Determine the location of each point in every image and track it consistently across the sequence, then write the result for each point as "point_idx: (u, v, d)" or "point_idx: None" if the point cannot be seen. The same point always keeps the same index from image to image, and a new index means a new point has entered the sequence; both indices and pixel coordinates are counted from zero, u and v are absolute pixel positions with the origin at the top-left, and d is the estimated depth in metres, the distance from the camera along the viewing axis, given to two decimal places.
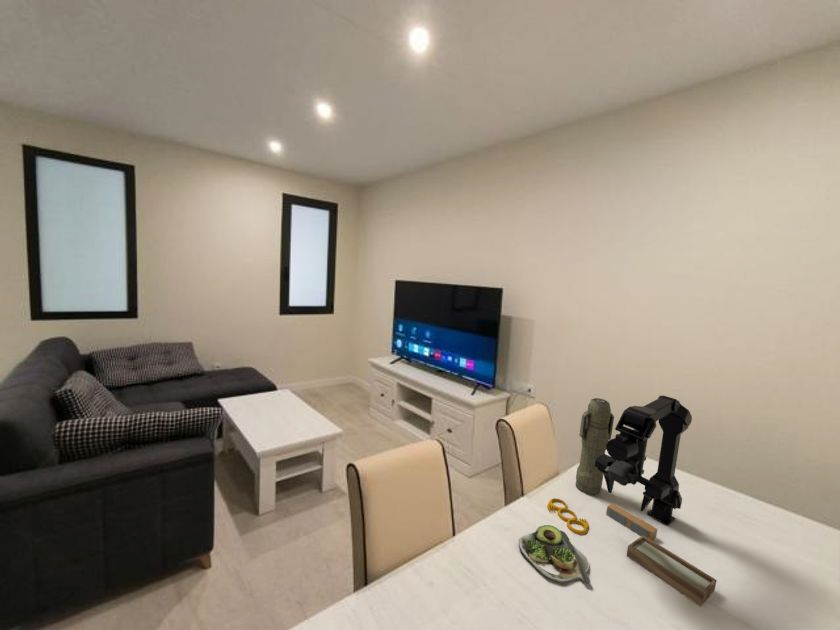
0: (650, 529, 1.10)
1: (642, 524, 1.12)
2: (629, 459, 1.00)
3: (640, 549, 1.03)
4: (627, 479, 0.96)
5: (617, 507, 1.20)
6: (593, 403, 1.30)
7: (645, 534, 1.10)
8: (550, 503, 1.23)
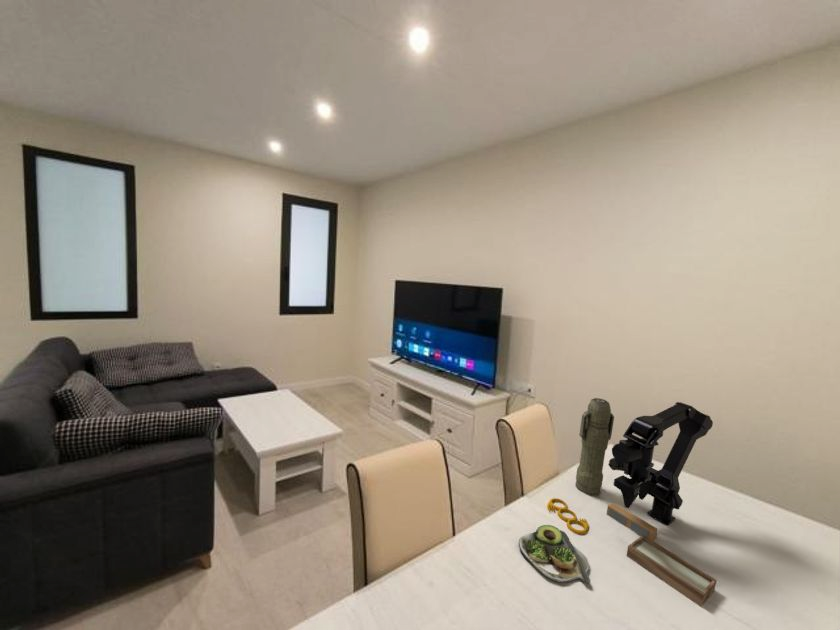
0: (650, 529, 1.10)
1: (642, 524, 1.12)
2: None
3: (640, 549, 1.03)
4: None
5: (618, 507, 1.20)
6: (593, 403, 1.30)
7: (645, 534, 1.10)
8: (550, 503, 1.23)
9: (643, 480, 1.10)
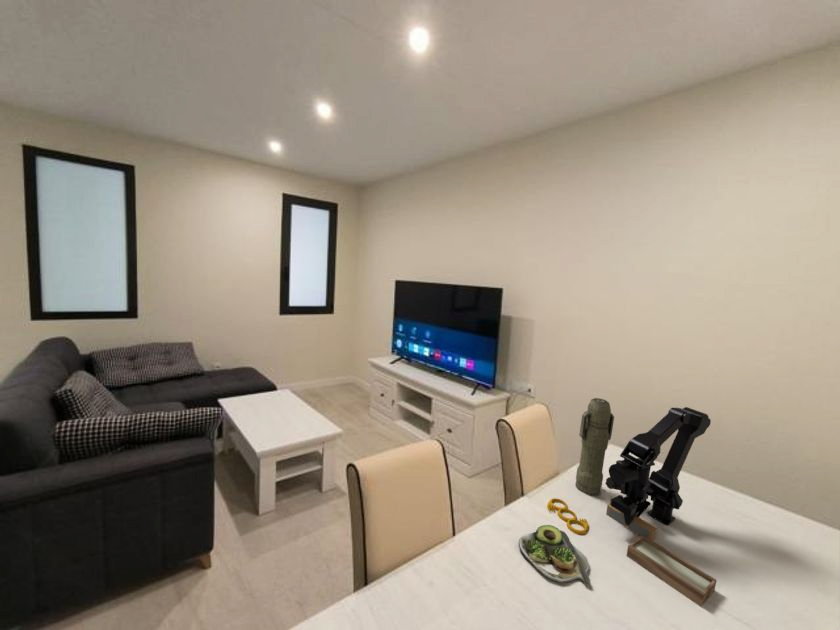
0: (650, 528, 1.10)
1: (642, 523, 1.12)
2: None
3: (640, 549, 1.03)
4: (606, 480, 1.19)
5: None
6: (593, 403, 1.30)
7: (645, 533, 1.10)
8: (550, 503, 1.23)
9: (639, 500, 1.11)
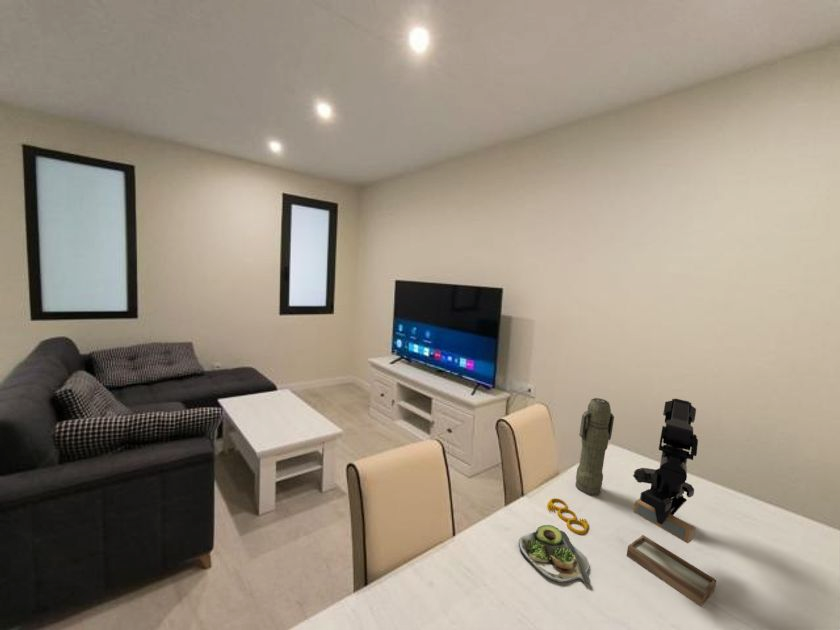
0: (687, 527, 0.95)
1: (677, 522, 0.97)
2: None
3: (640, 549, 1.03)
4: (634, 473, 1.05)
5: None
6: (593, 403, 1.30)
7: (681, 533, 0.95)
8: (550, 503, 1.23)
9: (675, 495, 0.96)
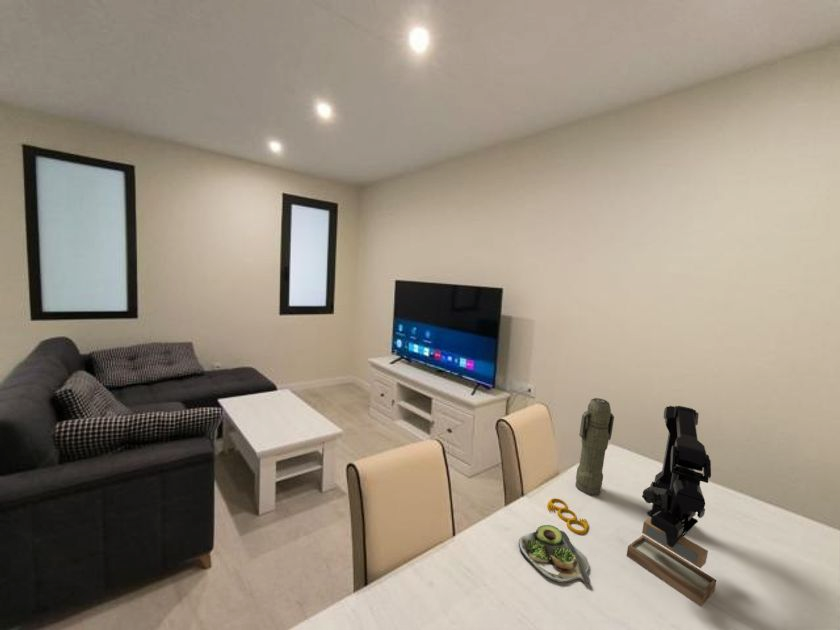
0: (699, 551, 0.91)
1: (689, 545, 0.93)
2: None
3: (640, 549, 1.03)
4: (643, 493, 1.00)
5: None
6: (593, 403, 1.30)
7: (693, 557, 0.92)
8: (550, 503, 1.23)
9: (686, 518, 0.92)
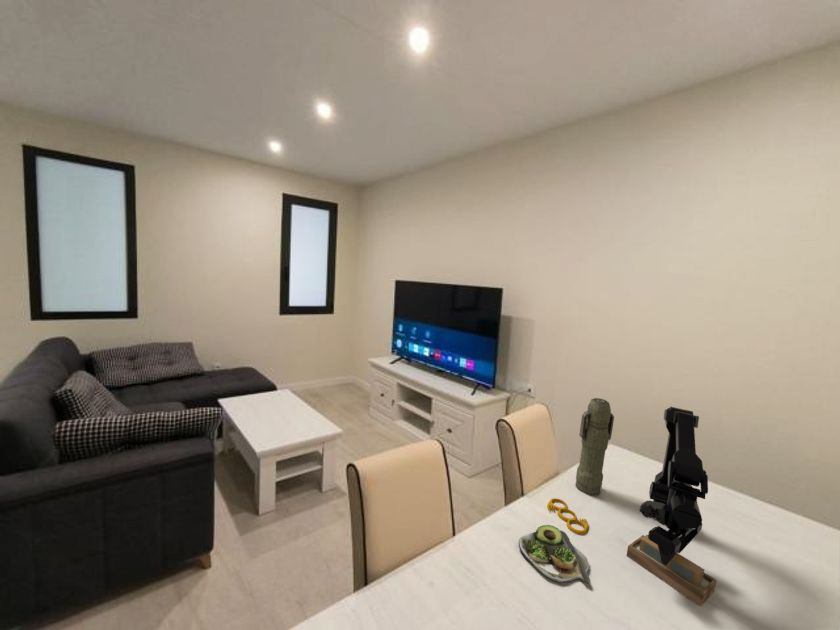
0: (696, 570, 0.92)
1: (686, 563, 0.94)
2: None
3: None
4: (641, 507, 1.01)
5: None
6: (593, 403, 1.30)
7: (690, 576, 0.92)
8: (550, 503, 1.23)
9: (684, 533, 0.93)
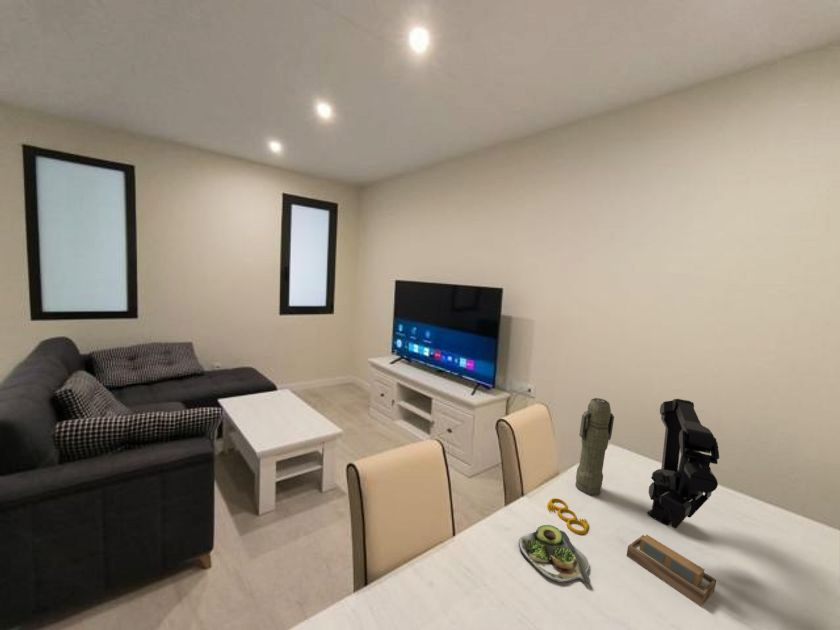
0: (696, 570, 0.92)
1: (686, 563, 0.94)
2: None
3: None
4: (652, 475, 1.05)
5: (653, 540, 1.02)
6: (593, 403, 1.30)
7: (690, 576, 0.92)
8: (550, 503, 1.23)
9: (694, 497, 0.97)
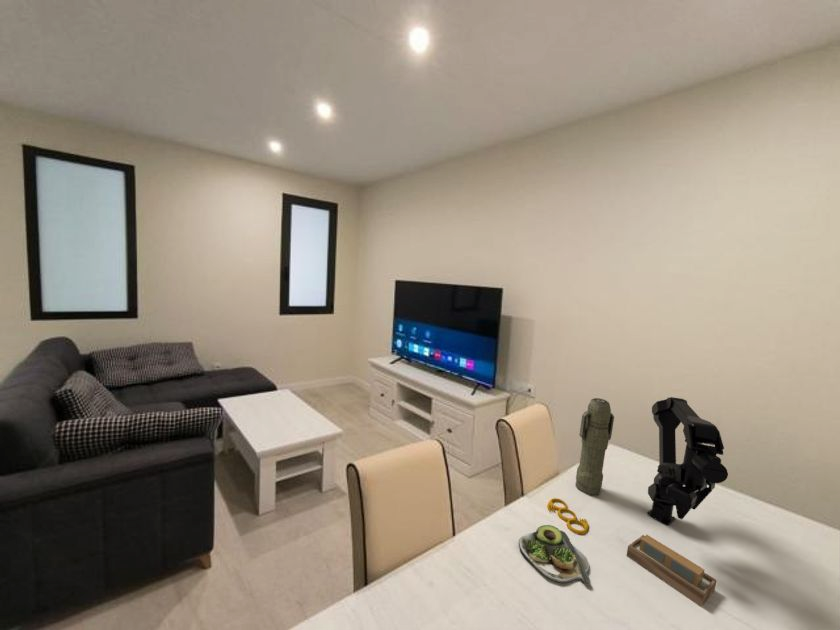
0: (696, 570, 0.92)
1: (686, 563, 0.94)
2: None
3: None
4: (658, 468, 1.09)
5: (653, 540, 1.02)
6: (593, 403, 1.30)
7: (690, 576, 0.92)
8: (550, 503, 1.23)
9: (699, 488, 1.01)
